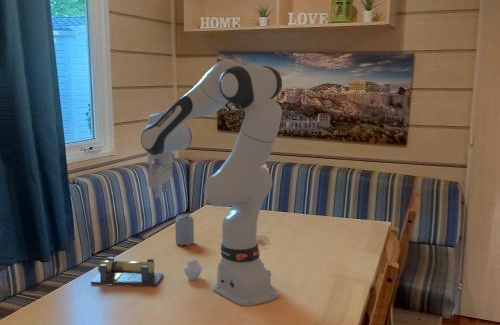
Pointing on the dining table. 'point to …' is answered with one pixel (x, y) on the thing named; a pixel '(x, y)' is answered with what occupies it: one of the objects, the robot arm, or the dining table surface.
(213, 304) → the dining table surface
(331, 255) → the dining table surface
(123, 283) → the stand
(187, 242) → the can
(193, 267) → the light grey rounded piece
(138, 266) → the tube
